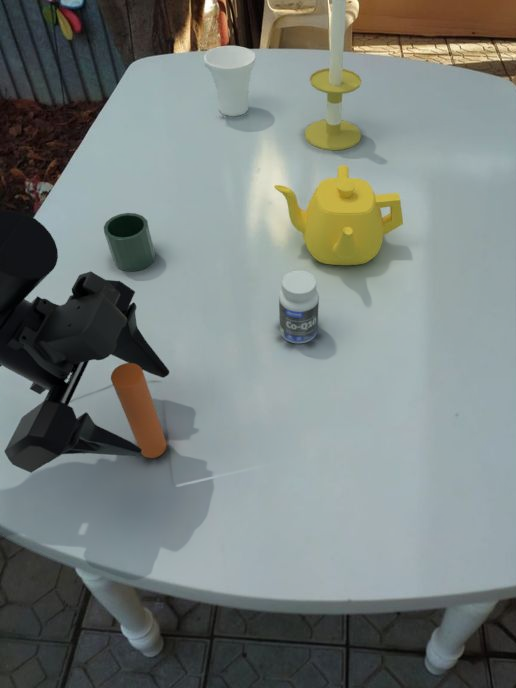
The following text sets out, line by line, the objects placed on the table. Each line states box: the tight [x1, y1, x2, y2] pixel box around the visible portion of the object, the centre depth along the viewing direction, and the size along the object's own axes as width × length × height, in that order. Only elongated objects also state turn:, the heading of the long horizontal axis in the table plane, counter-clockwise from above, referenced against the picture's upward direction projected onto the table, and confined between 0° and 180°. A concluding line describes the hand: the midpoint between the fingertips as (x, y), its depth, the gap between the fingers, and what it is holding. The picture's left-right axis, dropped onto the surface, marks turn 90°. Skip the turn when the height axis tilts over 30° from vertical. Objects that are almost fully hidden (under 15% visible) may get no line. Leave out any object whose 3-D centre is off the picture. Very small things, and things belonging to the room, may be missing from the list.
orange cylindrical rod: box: [110, 362, 168, 459], centre depth 57 cm, size 3×3×12 cm
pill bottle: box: [278, 270, 320, 344], centre depth 70 cm, size 5×5×8 cm
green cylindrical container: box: [103, 212, 156, 272], centre depth 79 cm, size 6×6×6 cm
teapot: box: [274, 164, 404, 266], centre depth 81 cm, size 14×13×10 cm
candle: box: [304, 0, 362, 151], centre depth 93 cm, size 10×10×27 cm
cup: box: [203, 45, 257, 117], centre depth 105 cm, size 9×9×10 cm
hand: (153, 412), depth 57 cm, fingers open, 9 cm apart
